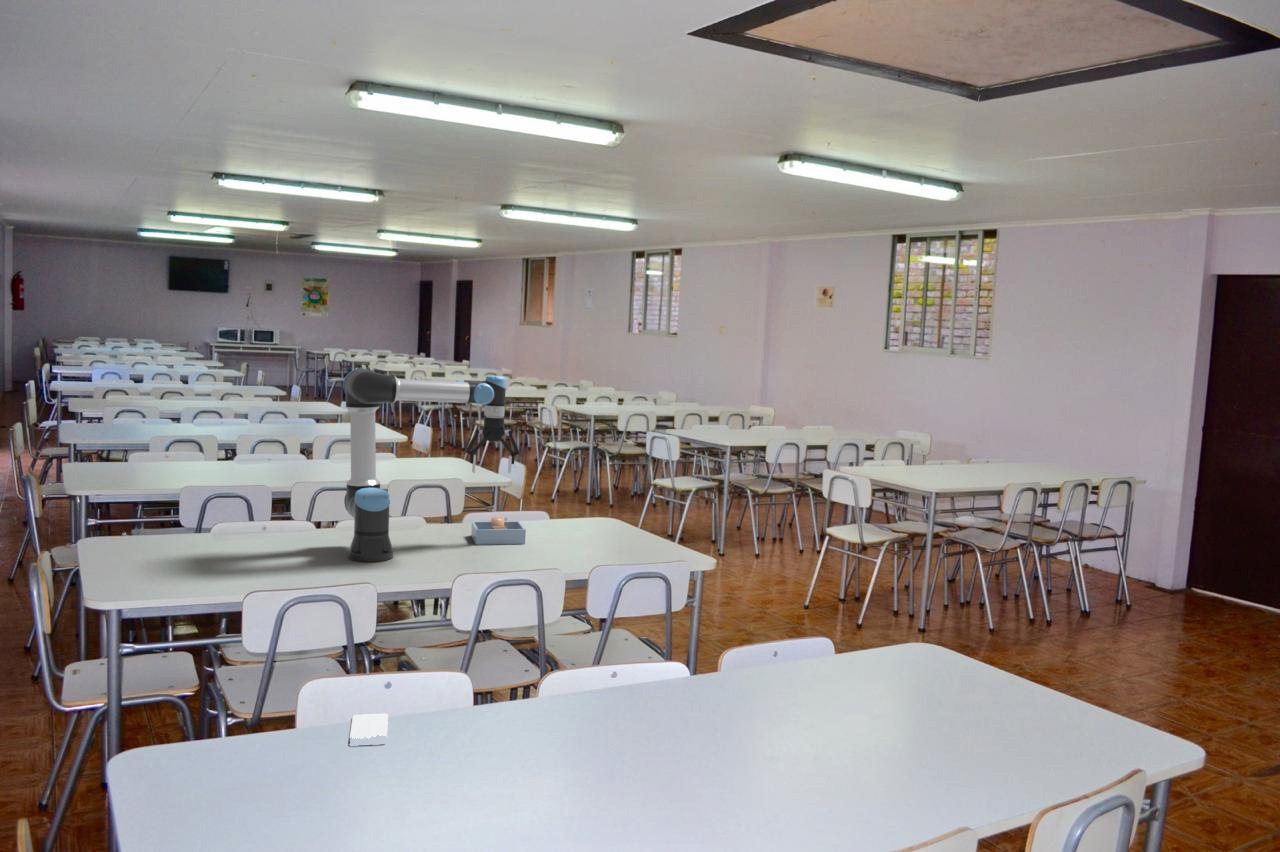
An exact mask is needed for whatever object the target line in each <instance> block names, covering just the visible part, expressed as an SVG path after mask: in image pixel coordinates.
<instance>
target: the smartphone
mask: <svg viewBox="0 0 1280 852" xmlns="http://www.w3.org/2000/svg"><path fill="white" fill-rule="evenodd" d="M388 727H389V714H388V713H385V712H384V713H369V714H367V713H366V714H365V713H364V714H363V713H362V714H353V716H352V719H351V724H350V733H349V738H351V737H352V739H353V738H354V739H355V738H356V739H357V738H358V739H359V738H360V739H363V738H364V737H366V738H368V739H369V738H371V737H372V736H373V737H376V736H377V735H379V736H382V735H383V736H386V737H387V738H388ZM364 739H365V738H364Z"/></svg>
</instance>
